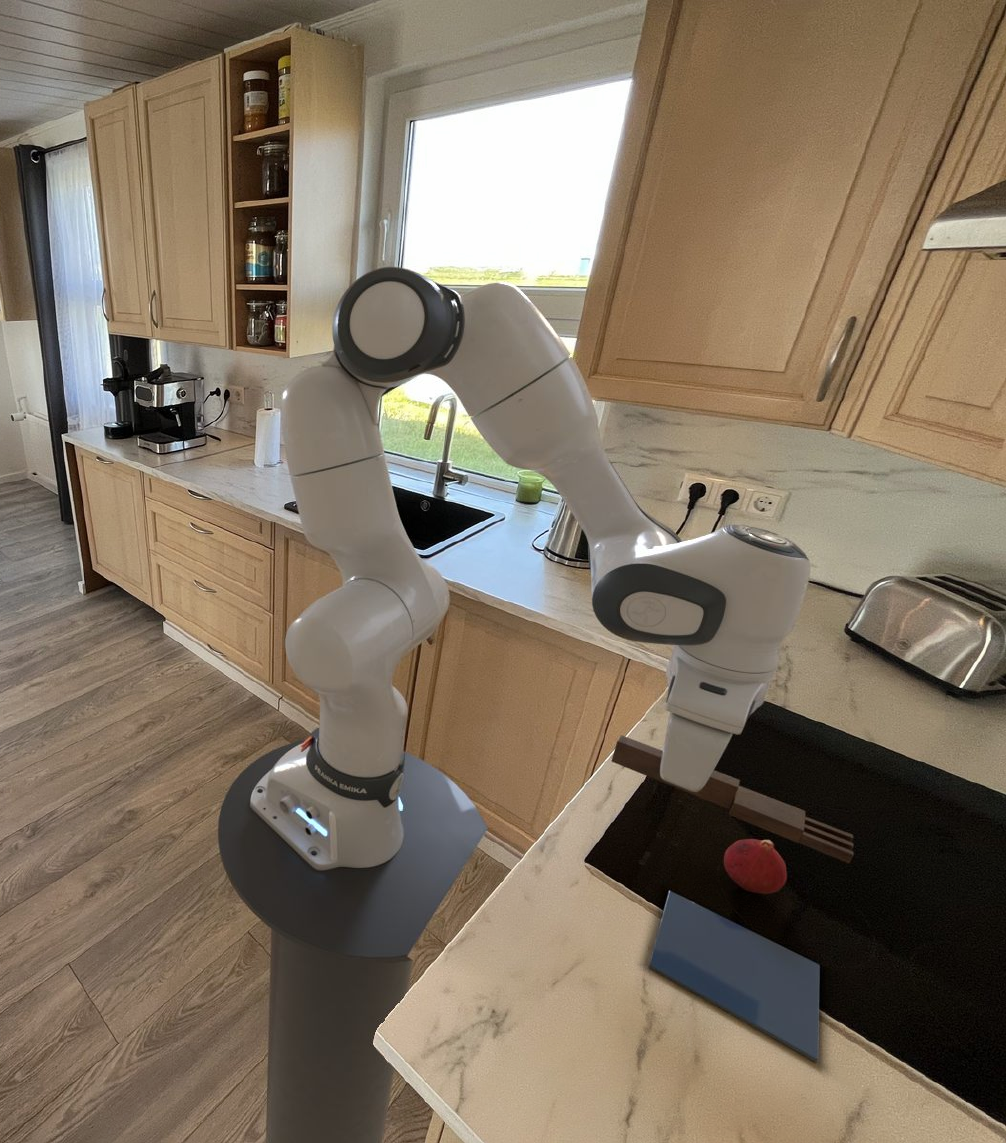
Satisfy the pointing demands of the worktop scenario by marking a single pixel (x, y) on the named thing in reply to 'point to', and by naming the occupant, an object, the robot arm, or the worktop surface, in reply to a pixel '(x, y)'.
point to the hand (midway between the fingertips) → (681, 773)
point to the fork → (744, 803)
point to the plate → (740, 973)
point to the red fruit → (755, 866)
